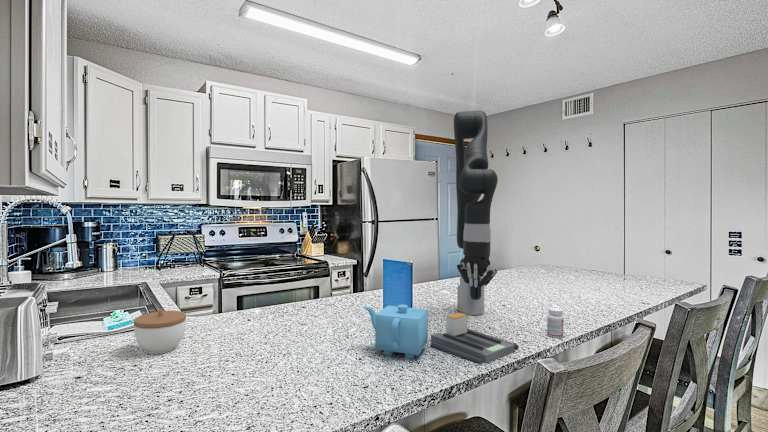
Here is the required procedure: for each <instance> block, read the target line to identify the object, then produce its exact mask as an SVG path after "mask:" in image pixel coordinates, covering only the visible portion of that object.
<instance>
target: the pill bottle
mask: <svg viewBox="0 0 768 432" xmlns="http://www.w3.org/2000/svg"><path fill="white" fill-rule="evenodd" d="M563 313H564V312H563V309H562V308H557V307H550V308H548V314H547V315H546V316H547V317H546V318H547V320H546V321H547V323H546V335H547V336H549V337H551V338H556V339H561V338H563V337H564V323H565V322H564V320H565V318H564V316H563Z"/></svg>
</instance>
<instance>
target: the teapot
mask: <svg viewBox="0 0 768 432" xmlns="http://www.w3.org/2000/svg"><path fill="white" fill-rule="evenodd" d="M362 308H364V309H365V310H366V311H367V312H368V314H369V315H370V320H371V324H372V327H373V328H372V329H374V332H375V333H374V335H375V336H374V349H375V350H379V351H383V352H382V354H383V356H387V357H388V356H392V355H393V354H394V353H400V354H404V358H405V357H406V359H408V360H409V359H410V360H412V358H413V359H415V358H414V357H415V356H420V354H421V353H422V351H423V350H424V348H425V347H426V345H427V344H428V342H429V339H428V337H429V336H428V335H429V332H428V331H429V309H427V308H426V309H425V308H417V307H409V306H408V305H407V304H398V305H397V306H396V305H387V306H386V307H384V308H383V309H382V310H380V311H379V312H377V313H376V311H375V310H374V308H372V307H370V306H362Z"/></svg>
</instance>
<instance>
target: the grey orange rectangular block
mask: <svg viewBox="0 0 768 432" xmlns="http://www.w3.org/2000/svg"><path fill="white" fill-rule="evenodd" d="M445 324H446V330H445V331H446V334H449V335H452V336H457V335H460V334H463V333H466V332H467V329H468V314H463V313H461V312H458V313H453V314H449V315H447V316H446V323H445Z"/></svg>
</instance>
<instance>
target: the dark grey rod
mask: <svg viewBox="0 0 768 432" xmlns="http://www.w3.org/2000/svg"><path fill="white" fill-rule="evenodd" d="M467 329H468V330H471V331H474V332H477V333H480V334H483V335H486V336H489V337H492V338H496V339H499V340H502V341H505V342H508V343H511V344H514V345H515V349H516V350H518V349H519V347H520V346H519V345H518V344H516V343H514V342H510V341H507V340H504V339H500V338H497V337H495V336H492V335H488V334H485V333H482V332H479V331H476V330H473V329H470V328H467Z"/></svg>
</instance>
